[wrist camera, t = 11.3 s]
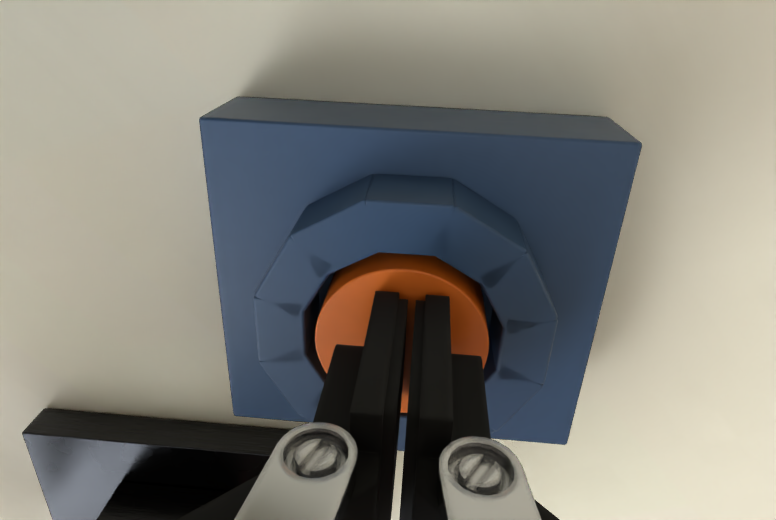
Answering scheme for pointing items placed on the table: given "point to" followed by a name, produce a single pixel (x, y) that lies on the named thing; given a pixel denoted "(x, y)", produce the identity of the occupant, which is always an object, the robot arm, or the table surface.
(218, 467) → the lever bracket
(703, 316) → the table surface
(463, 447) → the robot arm
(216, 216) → the control block
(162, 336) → the table surface
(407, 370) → the button
